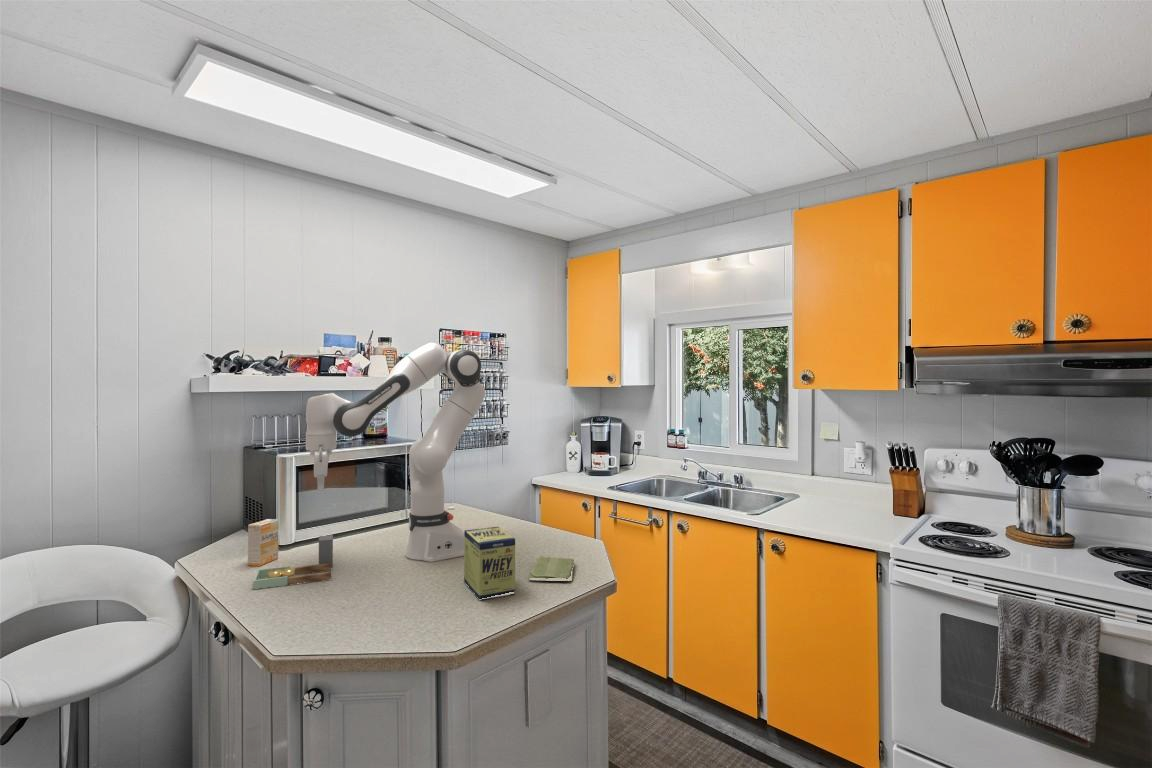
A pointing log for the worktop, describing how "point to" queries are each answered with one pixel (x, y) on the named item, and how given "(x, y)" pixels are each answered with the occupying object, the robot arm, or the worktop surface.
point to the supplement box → (263, 542)
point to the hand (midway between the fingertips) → (321, 487)
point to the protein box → (489, 561)
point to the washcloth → (552, 568)
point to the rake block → (326, 549)
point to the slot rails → (310, 576)
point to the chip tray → (269, 579)
